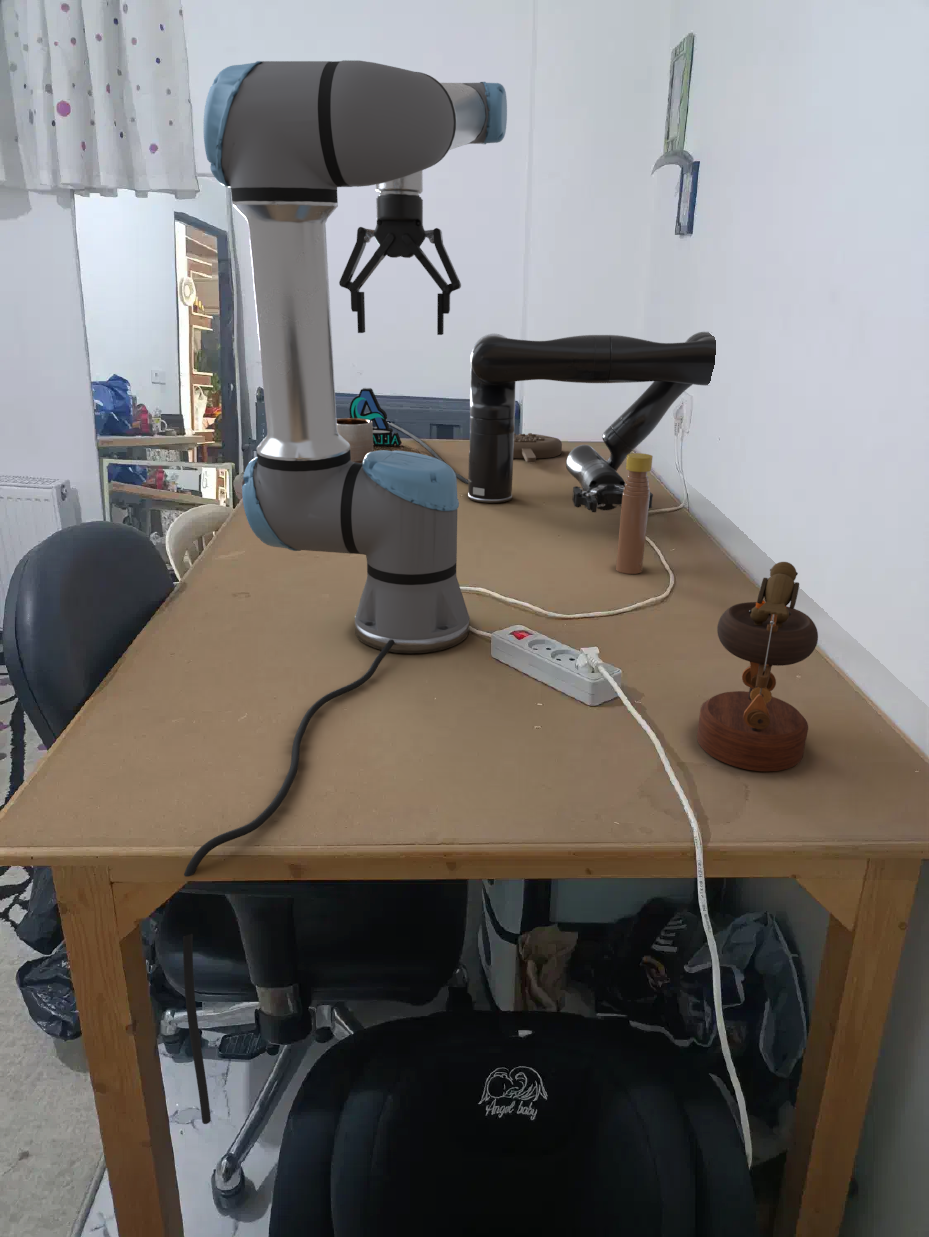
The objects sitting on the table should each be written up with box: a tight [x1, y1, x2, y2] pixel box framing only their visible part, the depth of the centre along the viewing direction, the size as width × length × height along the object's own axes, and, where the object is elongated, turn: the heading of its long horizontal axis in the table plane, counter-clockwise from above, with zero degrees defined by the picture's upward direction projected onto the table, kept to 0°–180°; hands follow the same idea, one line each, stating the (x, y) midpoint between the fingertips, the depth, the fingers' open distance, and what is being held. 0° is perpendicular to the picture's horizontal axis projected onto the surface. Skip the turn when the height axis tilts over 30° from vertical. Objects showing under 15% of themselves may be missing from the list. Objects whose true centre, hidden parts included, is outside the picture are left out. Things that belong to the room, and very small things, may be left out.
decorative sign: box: [348, 387, 402, 447], centre depth 230 cm, size 19×2×15 cm, turn 86°
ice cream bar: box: [513, 432, 563, 463], centre depth 220 cm, size 21×28×4 cm
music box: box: [696, 561, 819, 772], centre depth 84 cm, size 15×11×20 cm
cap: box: [625, 452, 653, 473], centre depth 131 cm, size 4×4×2 cm
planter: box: [336, 417, 375, 463], centre depth 212 cm, size 11×11×10 cm
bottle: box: [615, 470, 651, 575], centre depth 135 cm, size 4×4×18 cm
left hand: (400, 333), depth 144 cm, fingers open, 13 cm apart
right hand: (618, 507), depth 150 cm, fingers open, 8 cm apart
